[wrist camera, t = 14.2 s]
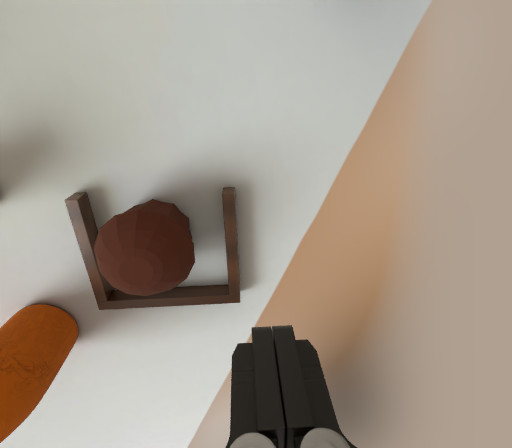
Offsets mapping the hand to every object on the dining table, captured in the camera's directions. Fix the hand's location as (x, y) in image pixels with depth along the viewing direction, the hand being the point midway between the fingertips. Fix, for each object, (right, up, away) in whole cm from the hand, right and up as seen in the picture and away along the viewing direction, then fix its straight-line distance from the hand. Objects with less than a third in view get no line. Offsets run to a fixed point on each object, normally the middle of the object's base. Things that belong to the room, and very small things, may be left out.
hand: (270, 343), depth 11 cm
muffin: (-14, +4, +30) cm, 33 cm away
